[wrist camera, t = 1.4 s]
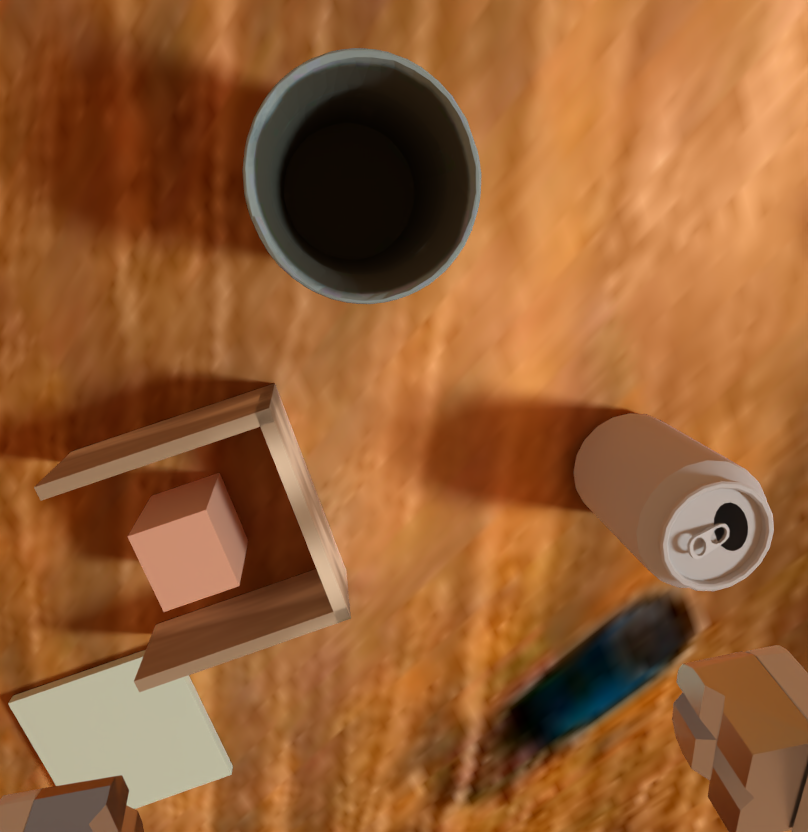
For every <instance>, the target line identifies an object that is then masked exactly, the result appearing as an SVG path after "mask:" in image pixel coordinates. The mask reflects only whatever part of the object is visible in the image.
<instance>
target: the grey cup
mask: <svg viewBox="0 0 808 832" xmlns="http://www.w3.org/2000/svg"><path fill="white" fill-rule="evenodd" d="M243 183H244V195H245V199H246V203H247V207H248V211H249V214H250V217H251V219H252V222H253V224H254V226H255V228H256V231H257V233H258V235H259V237H260V239H261V241H262V242H263V244H264V246H265V248H266V249H267V251H268V253H269V254H270V255H271V256H272V258H273V259H274V260H275V261H276V263H277V264H278V265H279V266H280V267H281V268H282V269H283V270H284V271H286V272H287V273H288V274H289V275H290V276H291V277H292V278H293V279H295V280H296V281H298V282H299V283H301V284H302V285H303V286H305V287H307V288H308V289H310V290H312V291H314V292H316V293H318V294H320V295H323V296H325V297H328V298H330V299H334V300H338V301H342V302H347V303H356V304H375V303H383V302H388V301H392V300H396V299H399V298H402V297H405V296H408V295H410V294H412V293H415V292H417V291H418V290H420V289H422V288H424V287H425V286H427V285H429V284H430V283H432V282H433V281H434V280H435V279H436V278H437V277H439V276H440V275H441V274H442V273H443V272H445V271H446V270H447V268H448V267H449V266H450V265H451V264H452V262H453V261H454V260H455V259H456V258H457V256H458V255H459V253H460V252H461V250H462V249H463V247H464V246H465V243H466V241H467V239H468V237H469V235H470V233H471V231H472V228H473V225H474V221H475V218H476V215H477V212H478V207H479V202H480V194H481V169H480V161H479V156H478V152H477V148H476V145H475V142H474V139H473V136H472V134H471V131H470V128H469V125H468V122H467V119H466V118H465V116H464V114H463V113H462V111H461V110H460V108H459V106H458V105H457V103H456V101H455V100H454V98H453V97H452V95H451V94H450V93H449V92H448V91H447V90H446V89H445V88H444V87H443V86H442V84H441V83H440V82H439V81H438V80H436V79H435V78H434V77H433V76H432V75H430V74H429V73H428V72H427V71H425V70H424V69H423V68H422V67H420V66H418V65H416V64H415V63H413V62H411V61H409V60H408V59H405V58H402V57H400V56H397V55H394V54H392V53H389V52H385V51H380V50H375V49H362V48H352V49H342V50H337V51H332V52H328V53H326V54H323V55H320V56H318V57H315V58H312V59H310V60H308V61H306V62H304V63H303V64H301V65H299V66H298V67H296V68H294V69H293V70H292V71H291V72H289V73H288V74H287V75H286V76H285V77H283V78H282V79H281V80H280V81H279V82H278V83H277V84H276V85H275V86H274V87H273V89H272V90H271V91H270V92H269V94H268V95H267V96H266V98H265V99H264V101H263V102H262V104H261V106H260V108H259V110H258V111H257V113H256V115H255V117H254V119H253V122H252V125H251V128H250V131H249V133H248V136H247V141H246V145H245V150H244V160H243Z"/></svg>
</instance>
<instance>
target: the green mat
mask: <svg viewBox="0 0 808 832" xmlns="http://www.w3.org/2000/svg"><path fill="white" fill-rule="evenodd" d="M145 651H146V650H143V651H140V652H137V653H134V654H132V655H129V656H126V657H123V658H120V659H117V660H114V661H111V662H109V663H106V664H103V665H100V666H97V667H94V668H91V669H88V670H86V671H83V672H80V673H77V674H74V675H71V676H68V677H65V678H62V679H60V680H57V681H54V682H51V683H48V684H45V685H42V686H39V687H37V688H34V689H31V690H28V691H25V692H22V693H19V694H16V695H14V696H12V698H11V700H10V701H9V703H8V705H9V706H10V708H11V710H12V711H13V713H14V715H15V717H16V718H17V720H18V722H19V723H20V725H21V727H22V728H23V730H24V732H25V734H26V735H27V737H28V739H29V740H30V742H31V744H32V746H33V747H34V749H35V751H36V752H37V754H38V756H39V757H40V759H41V761H42V763H43V764H44V766H45V768H46V769H47V771H48V773H49V775H50V776H51V778H52V780H53V781H54V783H55V785H56V786H60V785H66V784H72V783H78V782H84V781H90V780H96V779H101V778H107V777H113V776H120V775H122V776H123V778H124V780H125V782H126V785H127V787H128V789H129V794H128V799H127V806H129V807H131V808H133V809H136V808H139V807H142V806H144V805H147V804H150V803H153V802H156V801H159V800H161V799H164V798H167V797H170V796H173V795H175V794H178V793H181V792H184V791H187V790H190V789H192V788H195V787H198V786H201V785H204V784H206V783H209V782H212V781H215V780H218V779H220V778H223V777H226V776H229V775H231V774H232V767H233V766H232V764H231V762H230V760H229V758H228V755H227V753H226V751H225V749H224V747H223V745H222V743H221V741H220V739H219V737H218V735H217V733H216V731H215V729H214V727H213V724H212V722H211V720H210V718H209V716H208V714H207V712H206V710H205V708H204V706H203V704H202V702H201V700H200V698H199V696H198V693H197V691H196V689H195V687H194V685H193V683H192V681H191V679H190V677H189V675H188V676H185V677H182V678H179V679H176V680H173V681H171V682H168V683H165V684H162V685H159V686H156V687H153V688H150V689H148V690H145V691H142V692H139V691H138V689H137V687H136V685H135V683H134V679H135V677H136V674H137V672H138V669H139V666H140V664H141V661H142V659H143V656H144V654H145Z"/></svg>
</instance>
